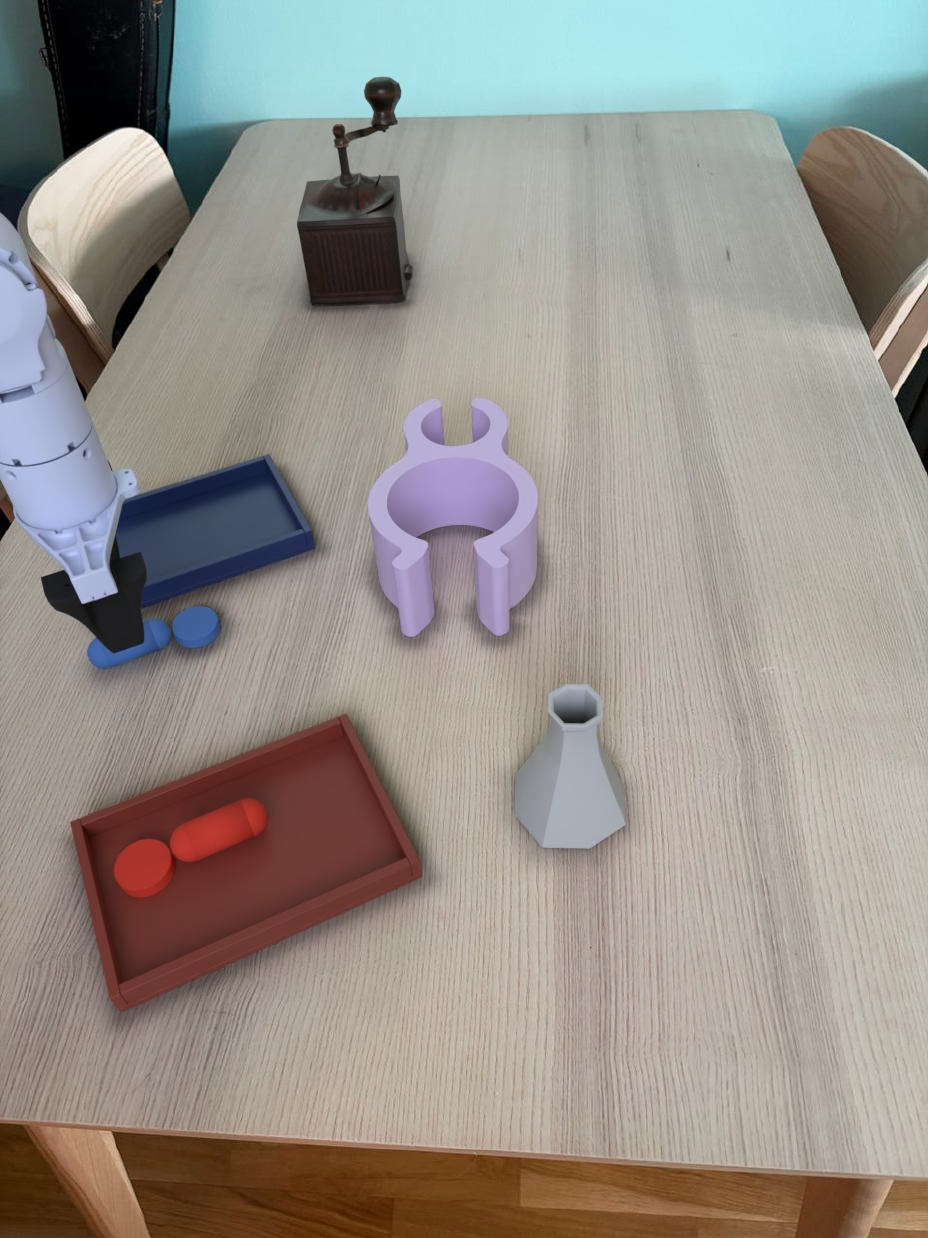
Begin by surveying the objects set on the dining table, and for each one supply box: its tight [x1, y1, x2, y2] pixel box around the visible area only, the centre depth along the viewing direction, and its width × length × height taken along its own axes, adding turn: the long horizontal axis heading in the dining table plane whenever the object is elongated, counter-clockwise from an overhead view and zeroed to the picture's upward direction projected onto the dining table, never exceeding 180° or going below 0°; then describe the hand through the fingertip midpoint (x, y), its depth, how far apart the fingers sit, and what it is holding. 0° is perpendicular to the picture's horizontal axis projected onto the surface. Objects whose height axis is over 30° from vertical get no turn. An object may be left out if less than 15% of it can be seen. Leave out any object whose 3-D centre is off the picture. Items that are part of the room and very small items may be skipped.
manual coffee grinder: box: [296, 76, 414, 307], centre depth 103 cm, size 16×11×18 cm
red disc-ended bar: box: [114, 798, 268, 897], centre depth 59 cm, size 10×3×2 cm, turn 115°
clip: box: [367, 397, 539, 638], centre depth 76 cm, size 20×12×7 cm, turn 179°
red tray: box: [70, 713, 423, 1013], centre depth 59 cm, size 18×12×2 cm
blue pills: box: [86, 605, 222, 669], centre depth 71 cm, size 10×3×2 cm, turn 116°
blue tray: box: [115, 453, 317, 609], centre depth 79 cm, size 17×11×2 cm, turn 115°
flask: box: [513, 683, 627, 850], centre depth 58 cm, size 7×7×10 cm
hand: (115, 605), depth 63 cm, fingers open, 7 cm apart
